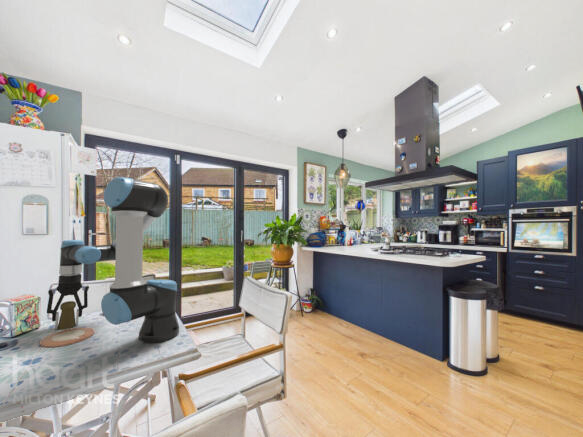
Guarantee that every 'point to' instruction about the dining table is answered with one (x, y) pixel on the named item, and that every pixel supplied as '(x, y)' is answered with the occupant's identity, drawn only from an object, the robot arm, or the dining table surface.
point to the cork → (67, 315)
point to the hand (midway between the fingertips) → (66, 326)
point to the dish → (67, 337)
